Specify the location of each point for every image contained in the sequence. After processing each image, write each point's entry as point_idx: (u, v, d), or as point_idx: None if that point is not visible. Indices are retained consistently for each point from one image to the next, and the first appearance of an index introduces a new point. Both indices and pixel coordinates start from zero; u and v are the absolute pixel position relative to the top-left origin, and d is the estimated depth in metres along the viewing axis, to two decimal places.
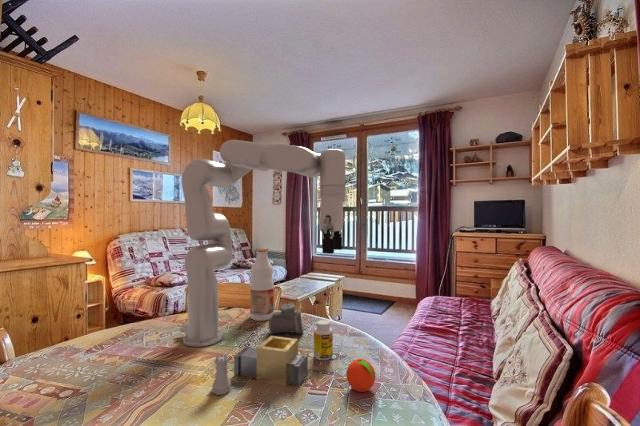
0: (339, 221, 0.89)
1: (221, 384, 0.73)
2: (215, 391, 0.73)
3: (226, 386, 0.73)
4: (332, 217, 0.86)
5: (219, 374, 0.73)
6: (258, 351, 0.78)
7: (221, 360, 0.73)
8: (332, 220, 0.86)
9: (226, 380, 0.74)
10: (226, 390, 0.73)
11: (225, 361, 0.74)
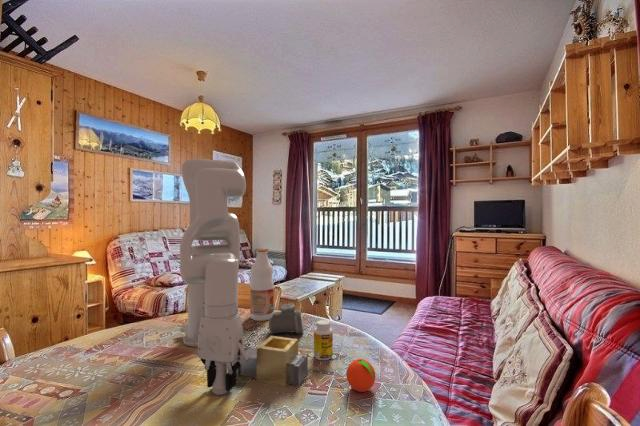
0: None
1: (221, 384, 0.73)
2: (215, 391, 0.73)
3: None
4: (242, 340, 0.74)
5: (219, 374, 0.73)
6: (258, 351, 0.78)
7: None
8: (242, 343, 0.74)
9: None
10: None
11: None
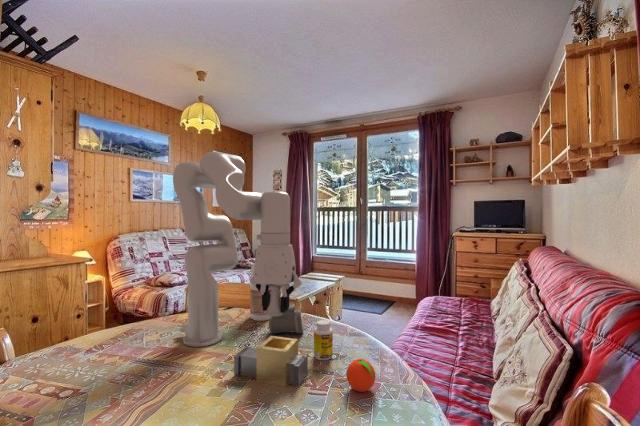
0: None
1: (276, 306, 0.79)
2: (270, 313, 0.79)
3: (280, 309, 0.79)
4: None
5: (273, 298, 0.79)
6: (258, 351, 0.78)
7: (275, 285, 0.79)
8: (295, 270, 0.80)
9: (280, 304, 0.80)
10: (280, 313, 0.79)
11: (279, 286, 0.80)
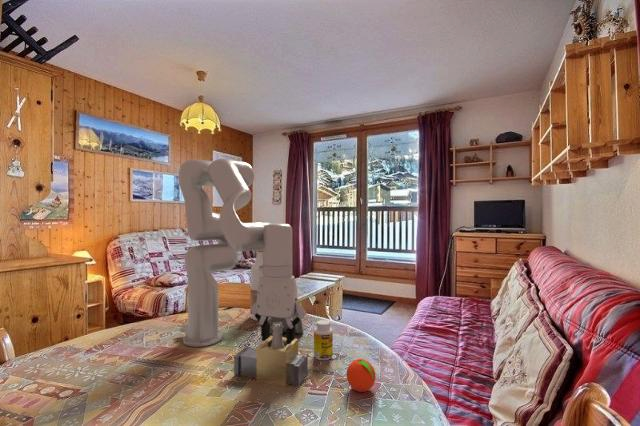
0: None
1: (278, 347, 0.79)
2: None
3: None
4: (297, 299, 0.81)
5: (276, 339, 0.80)
6: (258, 351, 0.78)
7: (277, 326, 0.80)
8: (297, 302, 0.81)
9: (282, 344, 0.80)
10: None
11: (281, 327, 0.80)
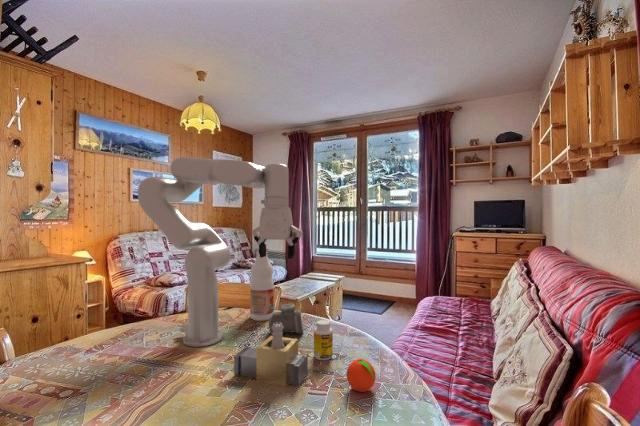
0: None
1: None
2: None
3: None
4: (292, 226, 0.98)
5: (276, 339, 0.80)
6: (258, 351, 0.78)
7: (278, 326, 0.80)
8: None
9: (282, 345, 0.80)
10: None
11: (281, 327, 0.80)
